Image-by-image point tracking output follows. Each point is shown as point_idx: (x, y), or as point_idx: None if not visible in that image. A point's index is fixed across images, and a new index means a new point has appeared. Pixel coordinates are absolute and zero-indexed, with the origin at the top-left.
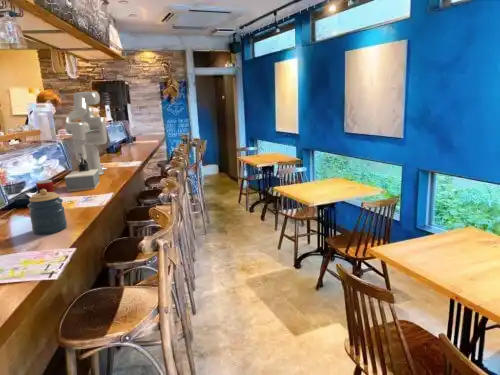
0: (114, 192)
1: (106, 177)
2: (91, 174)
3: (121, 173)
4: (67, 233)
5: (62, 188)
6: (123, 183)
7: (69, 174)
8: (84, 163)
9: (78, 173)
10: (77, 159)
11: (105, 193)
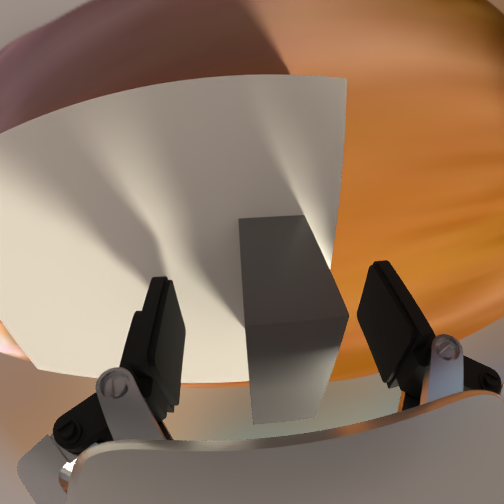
0: (30, 360)
1: (432, 283)
2: (38, 363)
3: (464, 324)
4: None
5: (149, 12)
6: (185, 385)
7: (29, 144)
8: (252, 403)
9: (74, 255)
10: (81, 471)
11: (12, 337)
